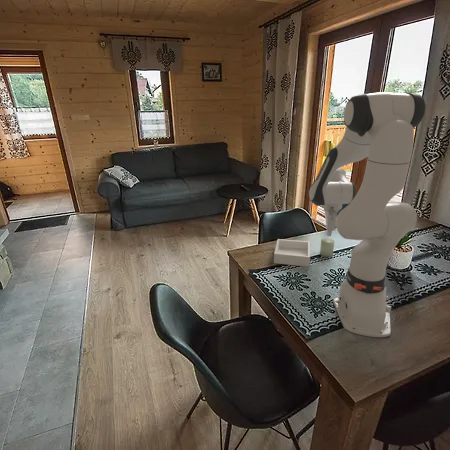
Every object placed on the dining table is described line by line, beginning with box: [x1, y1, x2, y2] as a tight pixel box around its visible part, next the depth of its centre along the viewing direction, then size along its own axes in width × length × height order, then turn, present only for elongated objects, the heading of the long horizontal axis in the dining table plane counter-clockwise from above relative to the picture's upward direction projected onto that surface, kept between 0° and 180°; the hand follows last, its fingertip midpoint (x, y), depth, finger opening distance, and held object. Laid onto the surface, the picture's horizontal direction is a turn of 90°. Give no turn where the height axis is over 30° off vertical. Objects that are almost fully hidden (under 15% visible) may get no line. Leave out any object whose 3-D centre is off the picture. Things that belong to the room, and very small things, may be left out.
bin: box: [273, 238, 311, 268], centre depth 138 cm, size 16×16×5 cm
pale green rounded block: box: [319, 238, 335, 258], centre depth 139 cm, size 6×6×7 cm
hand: (328, 231), depth 136 cm, fingers open, 8 cm apart
